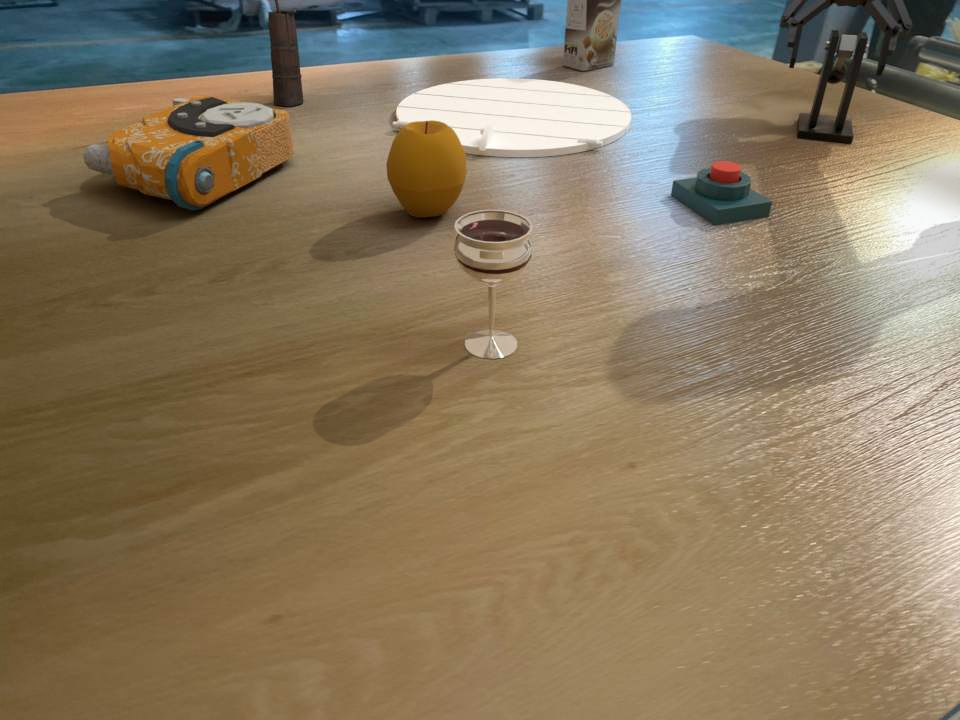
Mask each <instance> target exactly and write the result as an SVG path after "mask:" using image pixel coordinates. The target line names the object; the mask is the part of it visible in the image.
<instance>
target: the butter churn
mask: <svg viewBox="0 0 960 720" xmlns="http://www.w3.org/2000/svg"><path fill="white" fill-rule="evenodd" d="M274 4H275V8H276V10H272V11H268V12H267V14H268V34H269V41H270V46H269V49H270V61H271V75H272V76H271V77H272V95H273V104H274V105H277V106H284V107H291V106H298V105H302V104H303V103H304V101H305V100H304V93H303V83H302V77H303V75H302V73H301V66H300V65H301V64H300V62H301V61H300V53H299V52H300V51H299V43H298V33H297V31H298V30H297V26H296V20H295V15H296V14H297V10H295V9H294V10H291V11H290V10H286V9H285V10H284V9H281V8H280V7H281V6H280V3H279V0H274Z"/></svg>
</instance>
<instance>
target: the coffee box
mask: <svg viewBox="0 0 960 720" xmlns="http://www.w3.org/2000/svg"><path fill="white" fill-rule="evenodd" d="M566 3H567V5H566V17H565V29H564V43H563V53H562V55H563V56H562V66H563V67H567V68H569V69H570V68H571V69H574V70H577V71H581V72H587V71H591V70H597V69H601V68H607V67H611V66H614V65H615V59H616V50H617V42H618V41H617V40H618V32H619V23H620V14H621V6H622V0H567V2H566Z"/></svg>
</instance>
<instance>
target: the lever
mask: <svg viewBox="0 0 960 720" xmlns="http://www.w3.org/2000/svg"><path fill="white" fill-rule="evenodd" d="M857 40H858V35H854V34H853V35H852V34H841V36H840V37H839V40H838V44H837V48H836V51H835V58H836V59H835V60H833V63H832V67H831V70H830V74H829V78H828V82H827V84H830V85H836V84H839V83H840V82H842V81H843V80H844V79H845V78H846V76H847V74H848V69H847V68H848V67H847V65H846V63H845V61H846V59H848V60H849V59H850V60H851V59H852V58H853V55H854V51H855V48H856V44H857Z"/></svg>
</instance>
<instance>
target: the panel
mask: <svg viewBox="0 0 960 720" xmlns="http://www.w3.org/2000/svg"><path fill="white" fill-rule="evenodd" d="M710 170H711V167H709V168H703V169H701V170H700V171H698V172H697V173H696V177H695V176H694V177H688V178H682V179H675V180H672V185H671V192H670V196H671V197H672V198H673V199H675V200H676V201H678V202H679V203H681V204H682V205H684V206H685V207H686V208H688V209H689V210H691V211H692V212H694V213H695V214H696V215H698V216H699V217H701V218H702V219H704V220H705V221H707V222H708V223H710V224H711V225H712V226H715V227H716V226H717V227H718V226H722V225H729V224H734V223H741V222H746V221H754V220H759V219H764V218H769V217H770V213H771V210H772V204H773V200H771V199H769V198H768V197H766V196H764V195H763V194H761V193H759V192H757V191H755V190H754V189H752V188H751V186H752V179H751V176H750V175H748V174H747V173H745V172H743V171H741V172H740V176H739V181H738V182H737V183H731V184H729V183H719V182H716V181H712V180H711V179H709V175H710Z"/></svg>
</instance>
